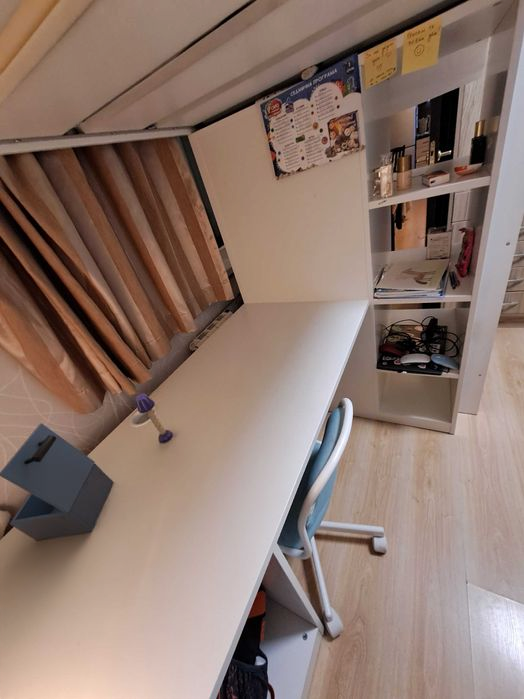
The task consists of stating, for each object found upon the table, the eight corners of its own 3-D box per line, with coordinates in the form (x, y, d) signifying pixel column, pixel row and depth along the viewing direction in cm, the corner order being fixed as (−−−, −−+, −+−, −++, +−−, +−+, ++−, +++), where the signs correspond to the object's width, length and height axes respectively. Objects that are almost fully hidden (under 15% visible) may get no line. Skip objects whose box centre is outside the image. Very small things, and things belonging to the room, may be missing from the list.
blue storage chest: (35, 540, 71) (9, 524, 66) (64, 491, 81) (43, 473, 76) (91, 532, 68) (68, 514, 64) (113, 482, 79) (95, 463, 74)
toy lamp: (163, 430, 90) (136, 392, 81) (176, 429, 89) (150, 390, 80) (157, 443, 86) (128, 404, 77) (170, 442, 85) (142, 403, 76)
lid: (-3, 475, 55) (16, 467, 54) (39, 424, 66) (55, 416, 64) (65, 513, 63) (82, 507, 62) (93, 462, 74) (108, 457, 73)
